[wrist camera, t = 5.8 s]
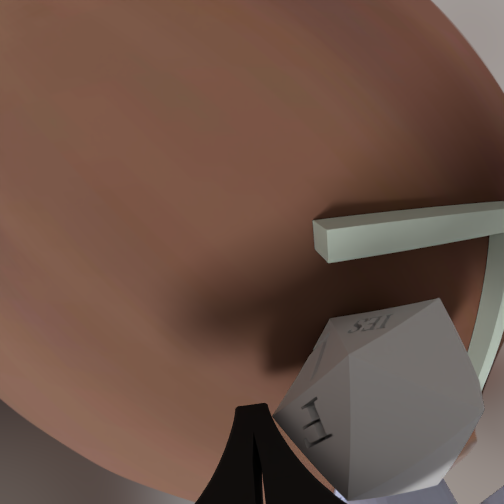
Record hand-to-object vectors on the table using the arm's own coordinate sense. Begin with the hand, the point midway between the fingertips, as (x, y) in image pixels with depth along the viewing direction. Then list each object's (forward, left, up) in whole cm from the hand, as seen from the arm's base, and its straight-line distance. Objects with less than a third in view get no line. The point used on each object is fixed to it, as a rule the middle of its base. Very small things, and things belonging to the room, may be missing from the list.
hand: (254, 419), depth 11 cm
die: (0, -6, -3) cm, 6 cm away
